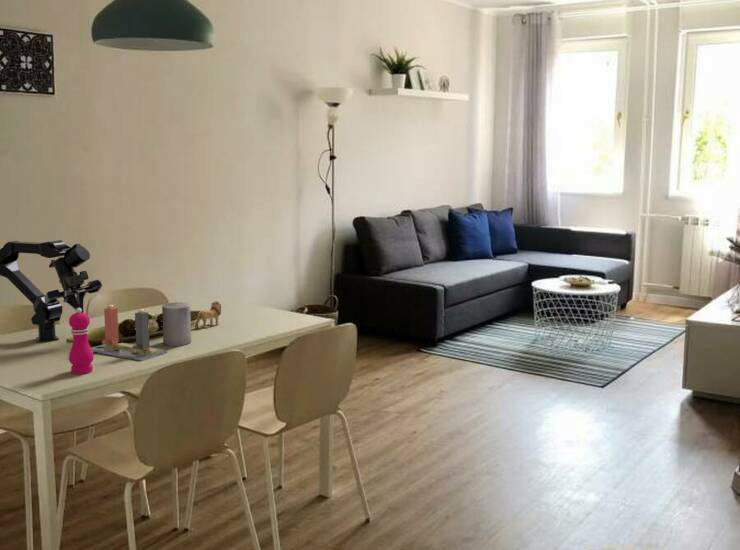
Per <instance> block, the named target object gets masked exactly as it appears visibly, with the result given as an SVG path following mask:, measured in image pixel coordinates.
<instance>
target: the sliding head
mask: <svg viewBox="0 0 740 550" xmlns="http://www.w3.org/2000/svg"><path fill="white" fill-rule="evenodd" d="M103 311H104V313H103V314H104V315H103V316H104V333H105V336H104V337H105V339H103V340H101V345H103V347H104V348H105V347H106V344H107V343H108V344H115V343H118V342H120V340H119V322H118V321H119V319H118V318H119V317H118V307H114V305H113V304H109V305H107V307H106V308H104V309H103Z"/></svg>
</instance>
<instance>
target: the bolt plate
mask: <svg viewBox="0 0 740 550" xmlns="http://www.w3.org/2000/svg"><path fill="white" fill-rule="evenodd" d="M134 345H135V344H133V343H127V342H121V343H115V344H108V343H107V344H106V347H105V348H104V347H103V344H100V345H97V346H93V347H91V349H92V352H97V353H96V354H99V353H102V354H101V355H104V354H107V355H106V356H110V355H112V357H116V356H117V358H121V357H122V358H121V359H127V358H128V360H133V359H134V361H138V360H139V361H140V362H143V361H145V360H148V359H152V358H155V357H158V356H161V355H164V354H167V353H168V350H167V349H163V348H158V347H151V346H149V348H146V349H136V353H134V349H133V346H134Z"/></svg>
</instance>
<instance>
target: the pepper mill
mask: <svg viewBox="0 0 740 550" xmlns="http://www.w3.org/2000/svg"><path fill="white" fill-rule="evenodd" d="M81 312H82V309H81V308H77V309H76V310H75V313H73V314H71V315H70V317H69V318H68V324H69V326H70V327H71V330H70V331H71V335H72V344H71V345H72V346H71V348H70V351H69V355H68V362H69V363H70V365H71V366H70V372H72V374H73V373H74V374H73V375H84V374H83V373H86V374H89V373H88V372H90V373H92V372H93V371H92V370H93V364H92V362H93V361H94V359H95V356H94V353H93V352H92V349H91V348H92V347H91V346H90V343H89V339H88V333H89V328H88V326H90V323H91V320H90V317H89V315H88V314H87V313H84V312H83V313H81ZM91 371H92V372H91Z"/></svg>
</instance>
